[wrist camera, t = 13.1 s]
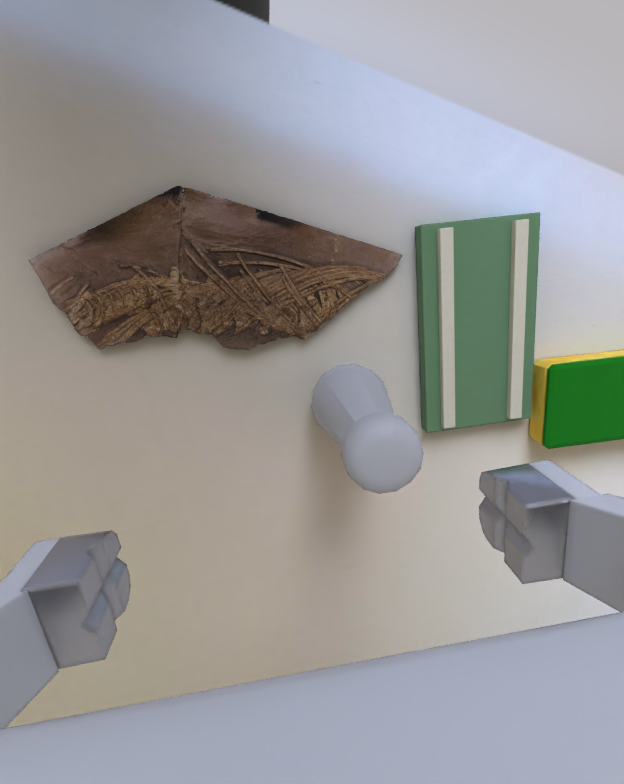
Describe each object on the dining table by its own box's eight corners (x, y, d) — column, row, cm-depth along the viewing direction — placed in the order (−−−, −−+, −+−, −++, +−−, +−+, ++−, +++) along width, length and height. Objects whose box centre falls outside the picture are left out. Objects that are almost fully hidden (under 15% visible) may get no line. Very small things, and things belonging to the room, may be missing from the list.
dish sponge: (673, 419, 38) (700, 429, 35) (527, 438, 37) (545, 450, 34) (686, 342, 36) (715, 346, 33) (532, 359, 35) (551, 365, 32)
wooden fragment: (45, 347, 30) (37, 349, 29) (19, 180, 27) (10, 177, 26) (391, 348, 33) (395, 350, 32) (402, 198, 30) (407, 195, 29)
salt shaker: (393, 392, 34) (465, 461, 22) (342, 440, 35) (385, 533, 23) (344, 343, 33) (393, 386, 20) (293, 393, 33) (309, 466, 21)
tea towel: (414, 226, 31) (423, 224, 29) (530, 214, 32) (545, 211, 30) (421, 428, 35) (429, 435, 34) (523, 413, 36) (535, 420, 34)
